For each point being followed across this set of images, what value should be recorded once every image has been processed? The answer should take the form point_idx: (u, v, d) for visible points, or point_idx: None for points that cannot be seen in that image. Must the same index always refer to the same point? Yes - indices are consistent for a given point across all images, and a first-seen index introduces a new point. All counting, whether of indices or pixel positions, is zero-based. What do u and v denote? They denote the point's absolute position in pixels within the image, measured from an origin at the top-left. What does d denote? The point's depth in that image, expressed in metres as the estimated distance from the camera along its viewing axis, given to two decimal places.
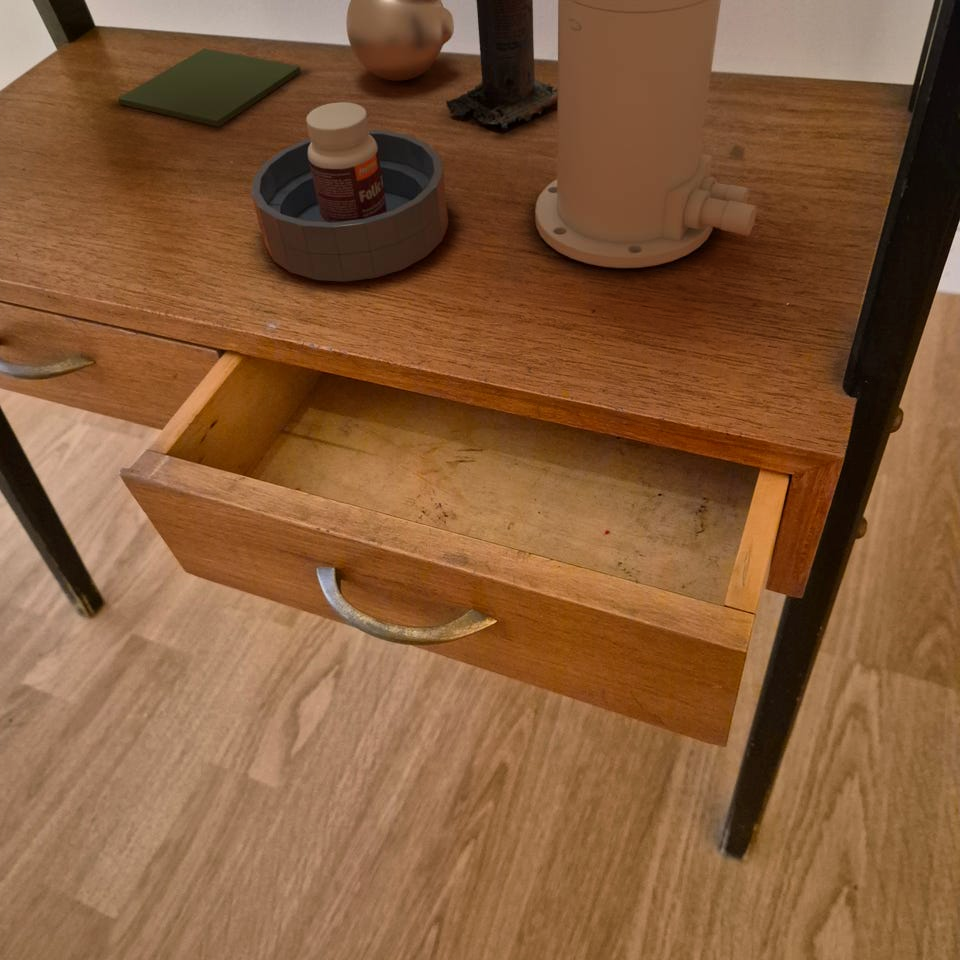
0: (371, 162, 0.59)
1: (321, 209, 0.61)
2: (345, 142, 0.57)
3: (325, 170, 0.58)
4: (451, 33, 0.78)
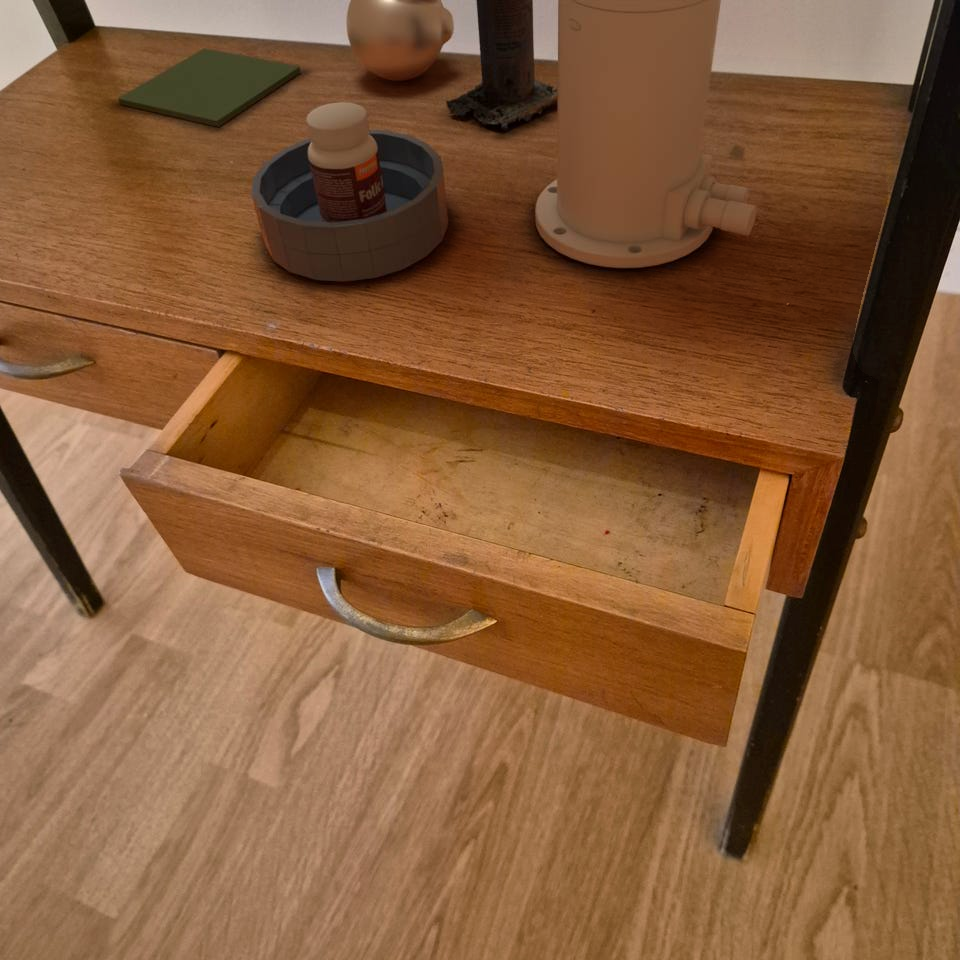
0: (371, 162, 0.59)
1: (321, 209, 0.61)
2: (345, 142, 0.57)
3: (325, 170, 0.58)
4: (451, 33, 0.78)
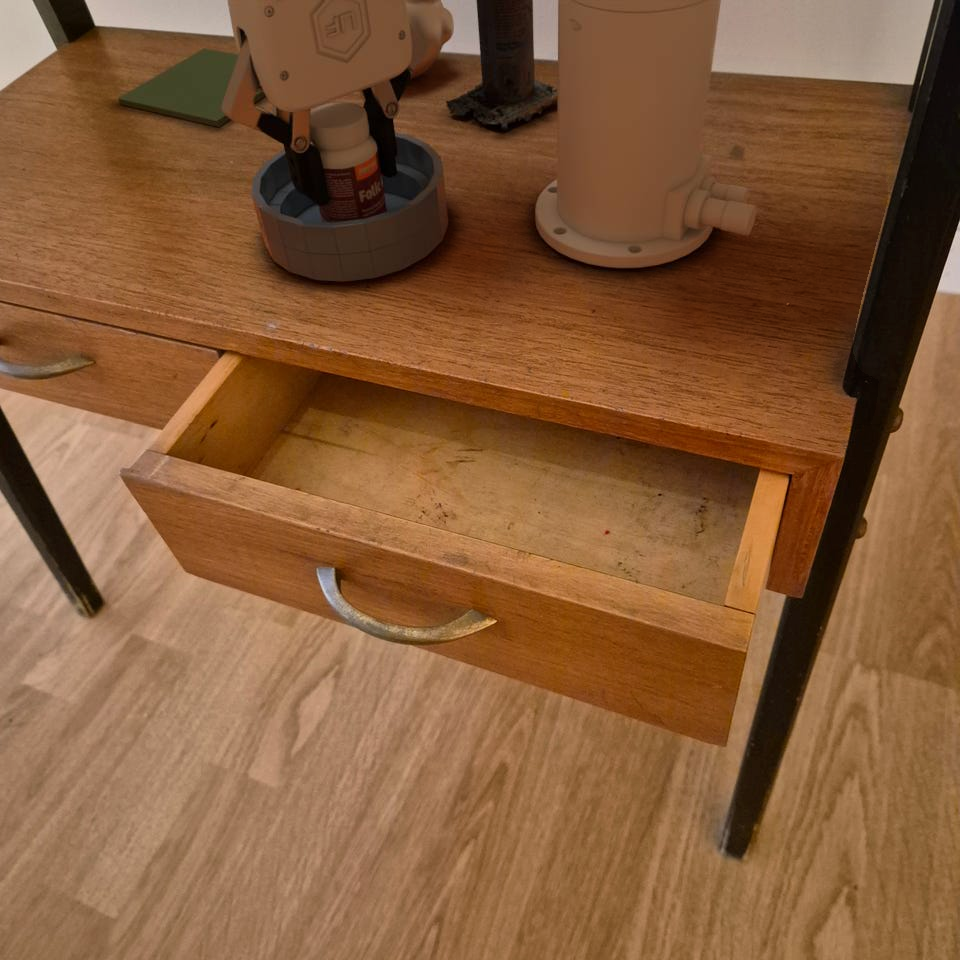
0: (371, 162, 0.59)
1: (321, 209, 0.61)
2: (345, 142, 0.57)
3: (325, 170, 0.58)
4: (451, 33, 0.78)
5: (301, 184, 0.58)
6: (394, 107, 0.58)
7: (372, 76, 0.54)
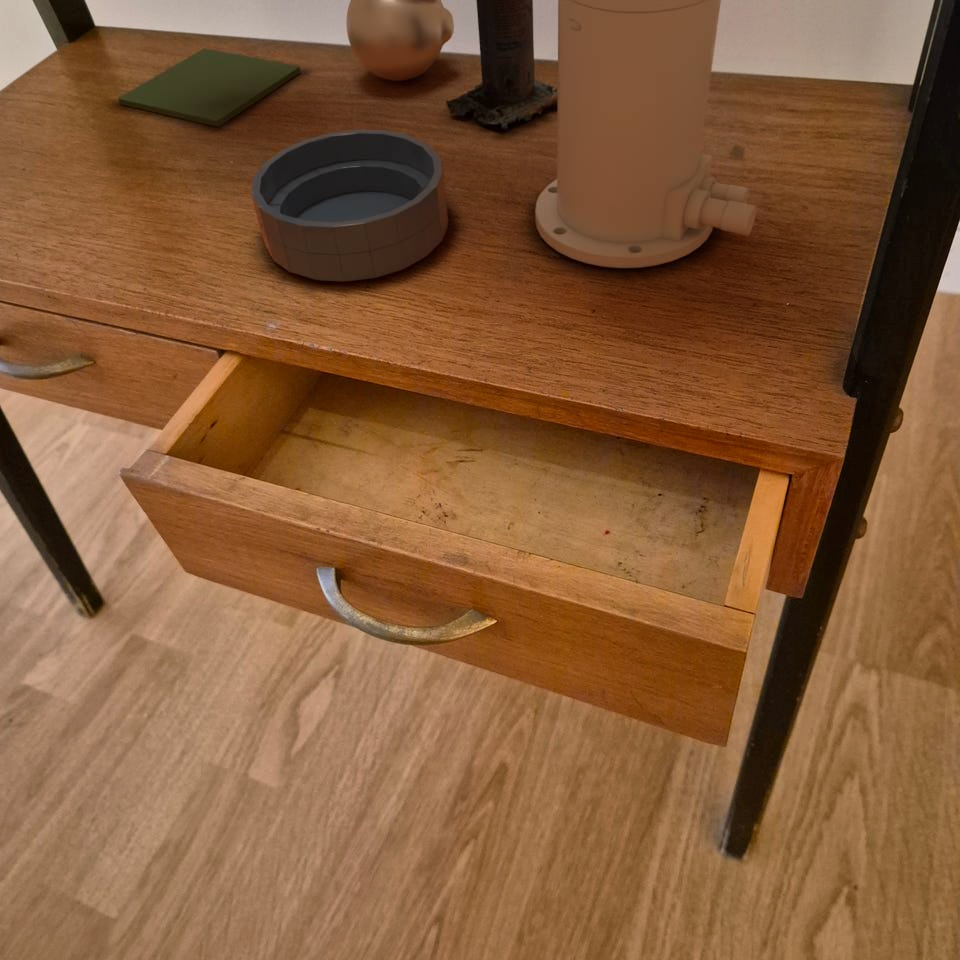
0: None
1: None
2: None
3: None
4: (451, 33, 0.78)
5: None
6: None
7: None
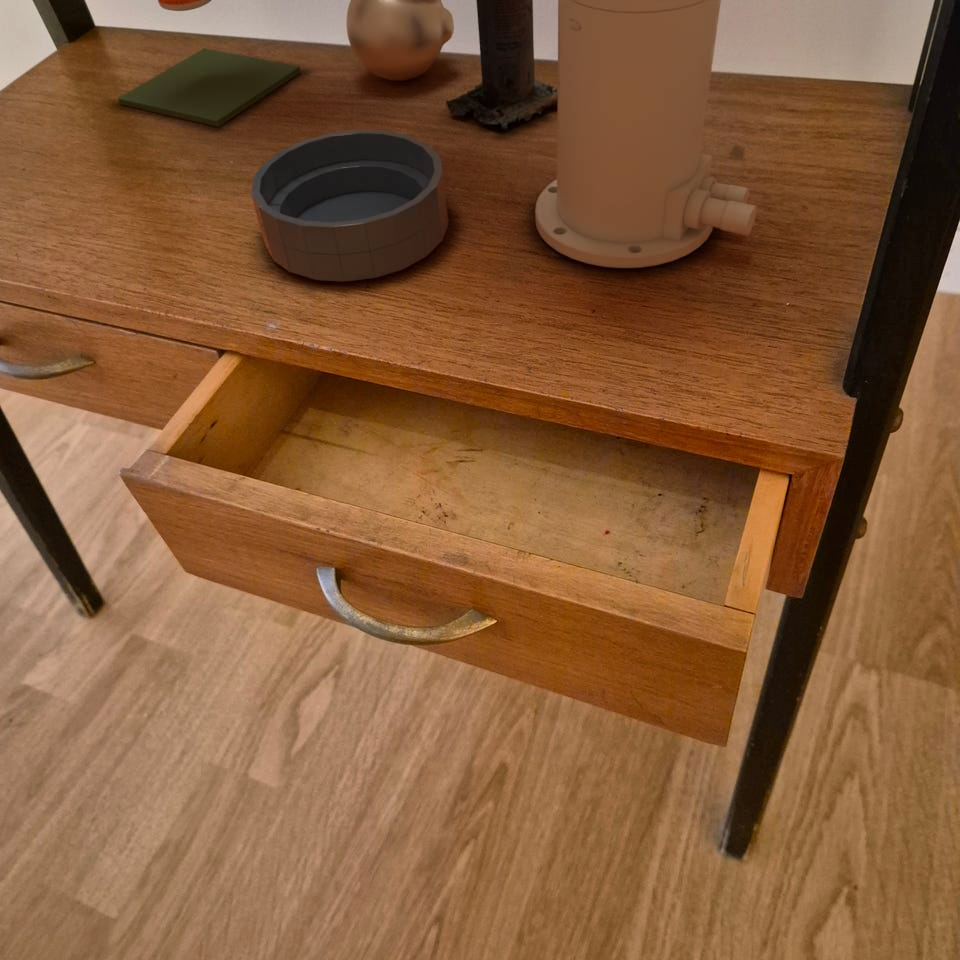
0: None
1: None
2: None
3: None
4: (451, 33, 0.78)
5: None
6: None
7: None
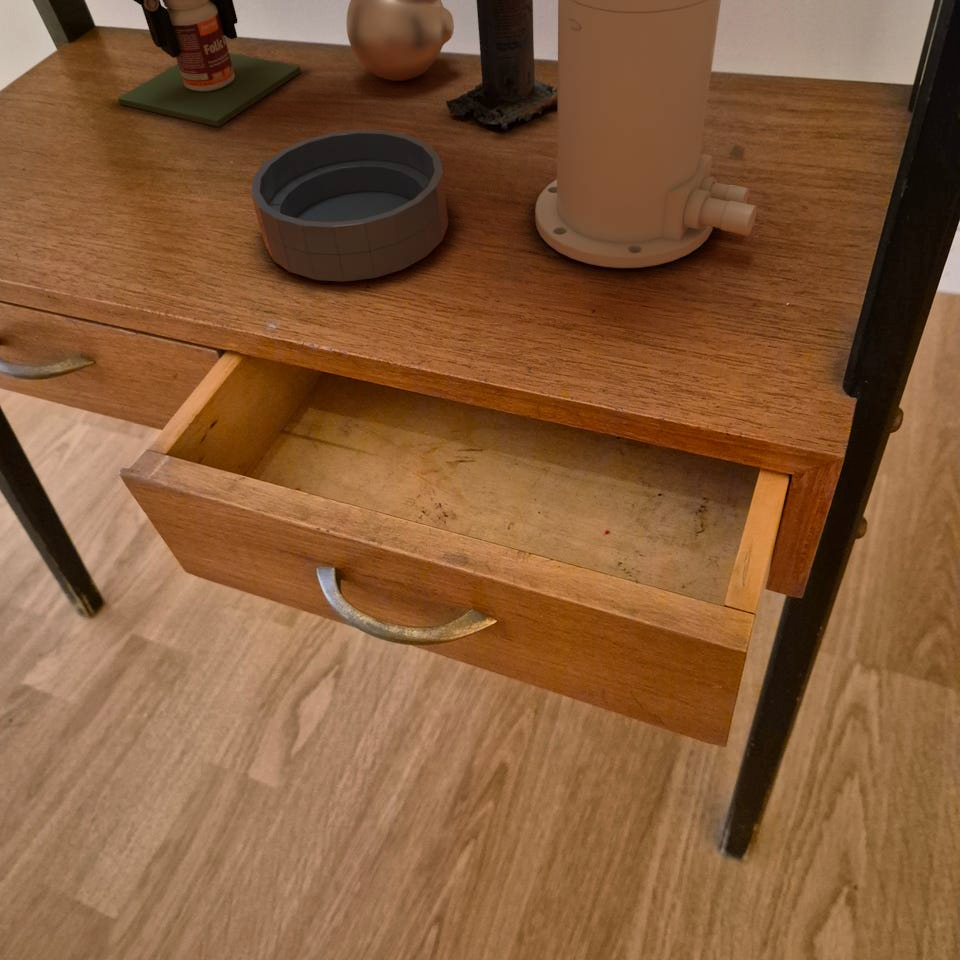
0: (212, 22, 0.77)
1: (178, 62, 0.79)
2: (188, 3, 0.75)
3: (175, 27, 0.76)
4: (451, 33, 0.78)
5: (157, 38, 0.76)
6: None
7: None
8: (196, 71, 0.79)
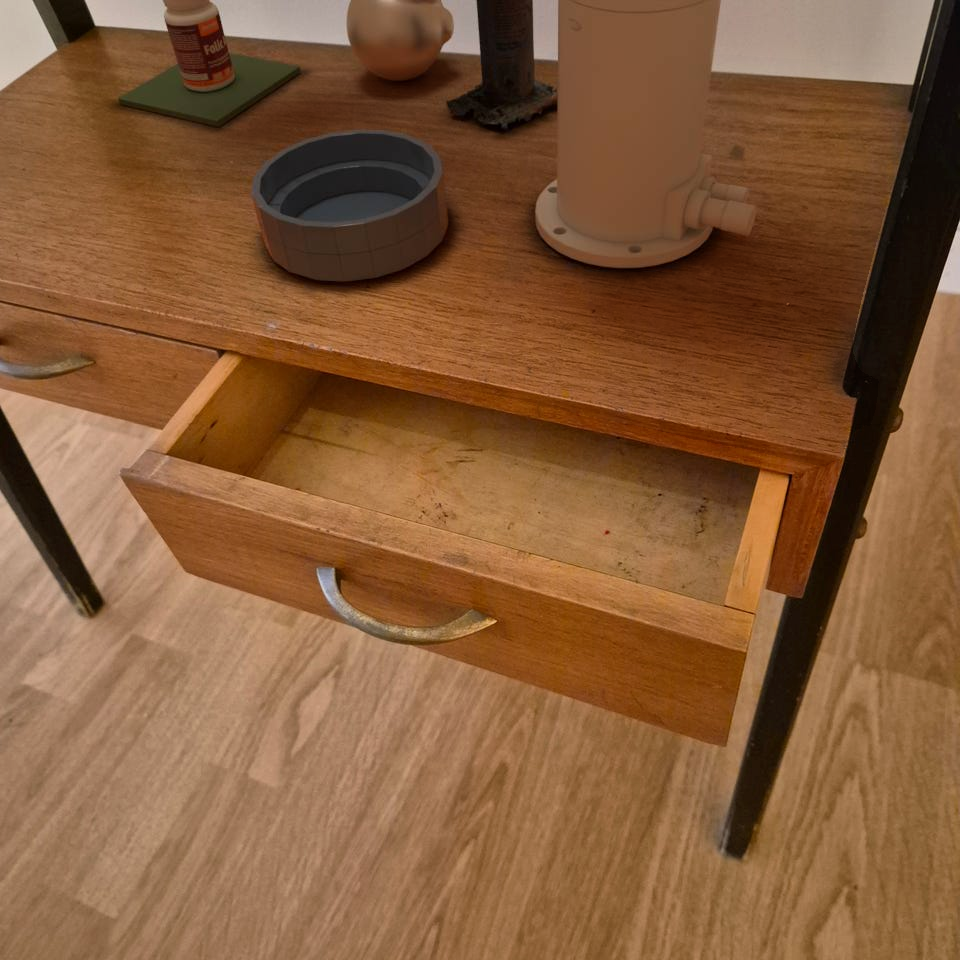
0: (212, 22, 0.77)
1: (178, 63, 0.79)
2: (188, 3, 0.75)
3: (175, 27, 0.76)
4: (451, 33, 0.78)
5: None
6: None
7: None
8: (196, 72, 0.79)
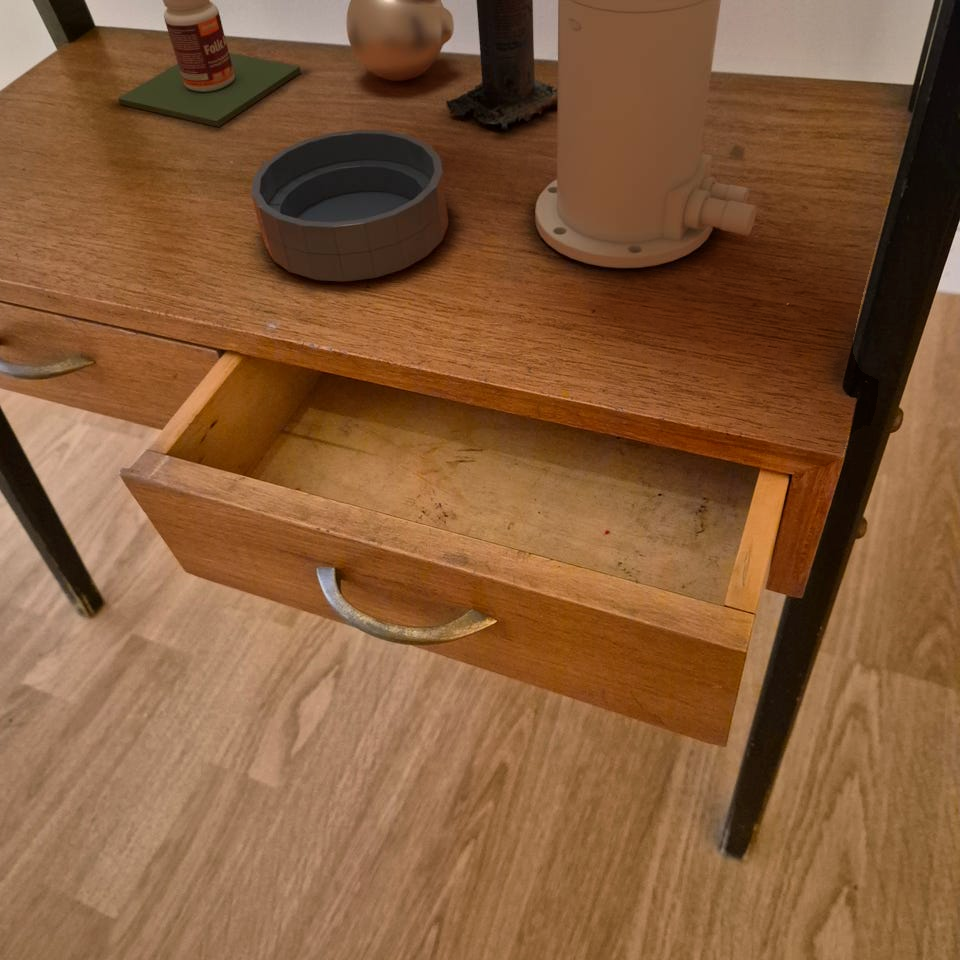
0: (212, 22, 0.77)
1: (178, 63, 0.79)
2: (188, 3, 0.75)
3: (175, 27, 0.76)
4: (451, 33, 0.78)
5: None
6: None
7: None
8: (196, 72, 0.79)
